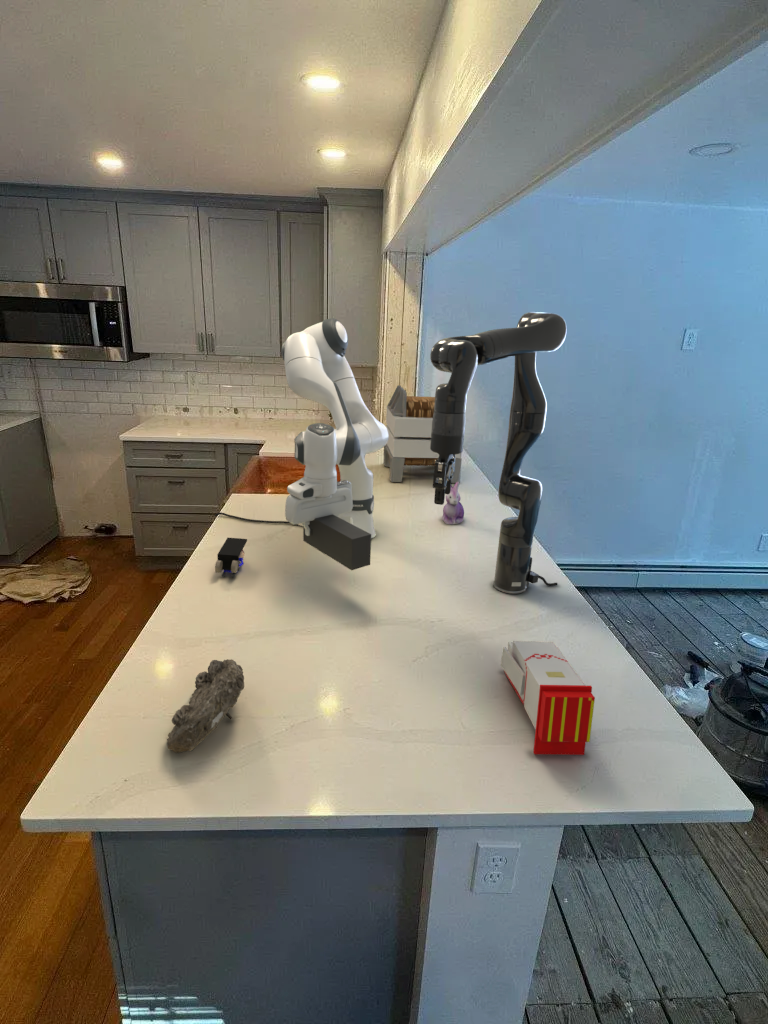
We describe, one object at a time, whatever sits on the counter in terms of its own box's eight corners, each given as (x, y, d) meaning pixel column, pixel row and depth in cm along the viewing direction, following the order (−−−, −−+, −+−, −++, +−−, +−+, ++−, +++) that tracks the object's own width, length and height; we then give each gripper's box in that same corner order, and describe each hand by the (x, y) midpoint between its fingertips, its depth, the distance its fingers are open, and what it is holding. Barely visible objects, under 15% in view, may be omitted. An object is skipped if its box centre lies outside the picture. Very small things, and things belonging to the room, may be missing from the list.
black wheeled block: (238, 584, 162) (249, 557, 175) (236, 562, 158) (247, 536, 172) (215, 584, 161) (227, 556, 175) (212, 561, 158) (225, 535, 171)
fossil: (192, 660, 117) (244, 628, 112) (224, 691, 120) (276, 661, 115) (142, 746, 98) (202, 712, 93) (182, 779, 101) (242, 748, 96)
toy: (549, 624, 127) (604, 693, 98) (544, 678, 130) (596, 762, 100) (496, 622, 127) (535, 692, 97) (491, 677, 129) (528, 761, 100)
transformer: (382, 463, 289) (386, 382, 275) (445, 464, 293) (451, 384, 279) (390, 482, 257) (394, 392, 243) (460, 483, 261) (468, 394, 247)
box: (303, 540, 160) (303, 512, 157) (321, 536, 164) (321, 508, 161) (351, 570, 144) (352, 539, 141) (370, 564, 147) (371, 534, 145)
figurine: (449, 526, 208) (453, 487, 203) (434, 517, 216) (437, 480, 211) (470, 523, 212) (474, 485, 207) (455, 514, 221) (458, 477, 216)
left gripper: (344, 476, 162) (343, 521, 167) (281, 487, 149) (282, 536, 154) (358, 482, 157) (356, 528, 162) (294, 494, 145) (294, 543, 150)
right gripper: (459, 438, 121) (453, 510, 127) (468, 427, 134) (462, 492, 140) (425, 435, 123) (420, 505, 129) (437, 424, 136) (432, 488, 142)
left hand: (319, 532), depth 158 cm, fingers closed on box, 6 cm apart
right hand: (442, 498), depth 134 cm, fingers open, 8 cm apart
